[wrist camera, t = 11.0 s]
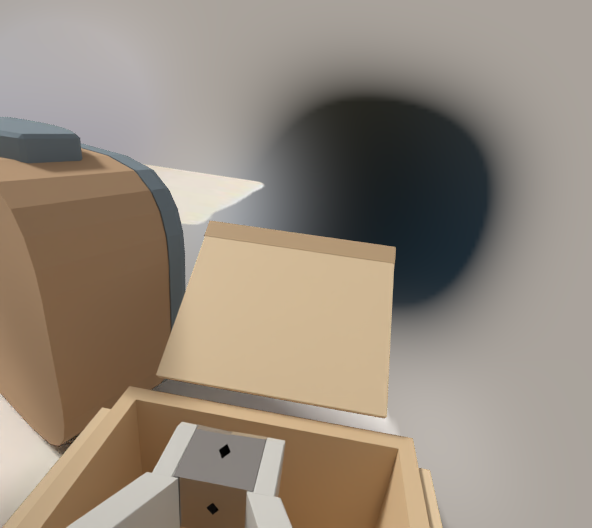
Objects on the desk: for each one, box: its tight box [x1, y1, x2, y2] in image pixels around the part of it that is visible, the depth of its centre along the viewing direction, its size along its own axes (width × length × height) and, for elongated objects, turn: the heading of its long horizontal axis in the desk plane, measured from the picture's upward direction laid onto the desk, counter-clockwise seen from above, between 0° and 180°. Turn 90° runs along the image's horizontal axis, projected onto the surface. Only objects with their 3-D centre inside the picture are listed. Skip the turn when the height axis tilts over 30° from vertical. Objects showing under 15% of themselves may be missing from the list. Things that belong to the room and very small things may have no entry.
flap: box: [156, 221, 395, 418], centre depth 22 cm, size 1×12×10 cm
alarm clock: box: [0, 117, 185, 446], centre depth 29 cm, size 21×10×22 cm, turn 55°
